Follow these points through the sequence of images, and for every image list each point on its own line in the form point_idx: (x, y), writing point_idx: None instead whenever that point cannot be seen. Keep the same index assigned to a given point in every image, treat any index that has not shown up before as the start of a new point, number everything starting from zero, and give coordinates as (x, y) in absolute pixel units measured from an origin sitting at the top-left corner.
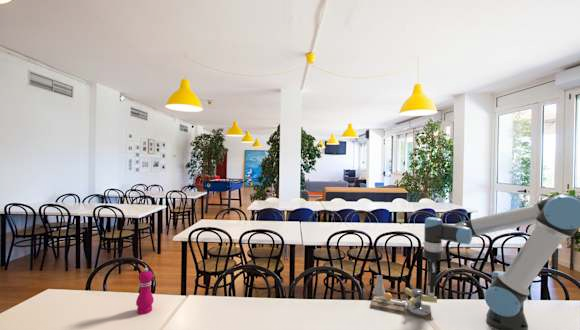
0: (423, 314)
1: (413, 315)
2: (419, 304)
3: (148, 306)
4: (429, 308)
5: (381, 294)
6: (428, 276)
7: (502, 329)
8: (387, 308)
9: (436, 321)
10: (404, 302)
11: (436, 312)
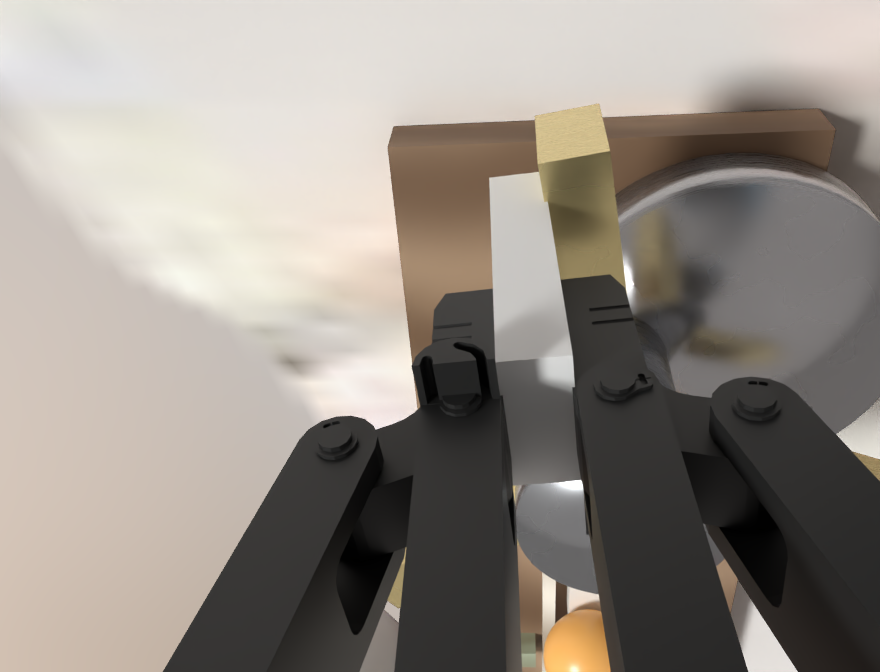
0: None
1: None
2: (662, 344)
3: None
4: (728, 197)
5: (383, 638)
6: (367, 634)
7: None
8: (735, 580)
9: (848, 31)
10: None
11: (493, 28)
